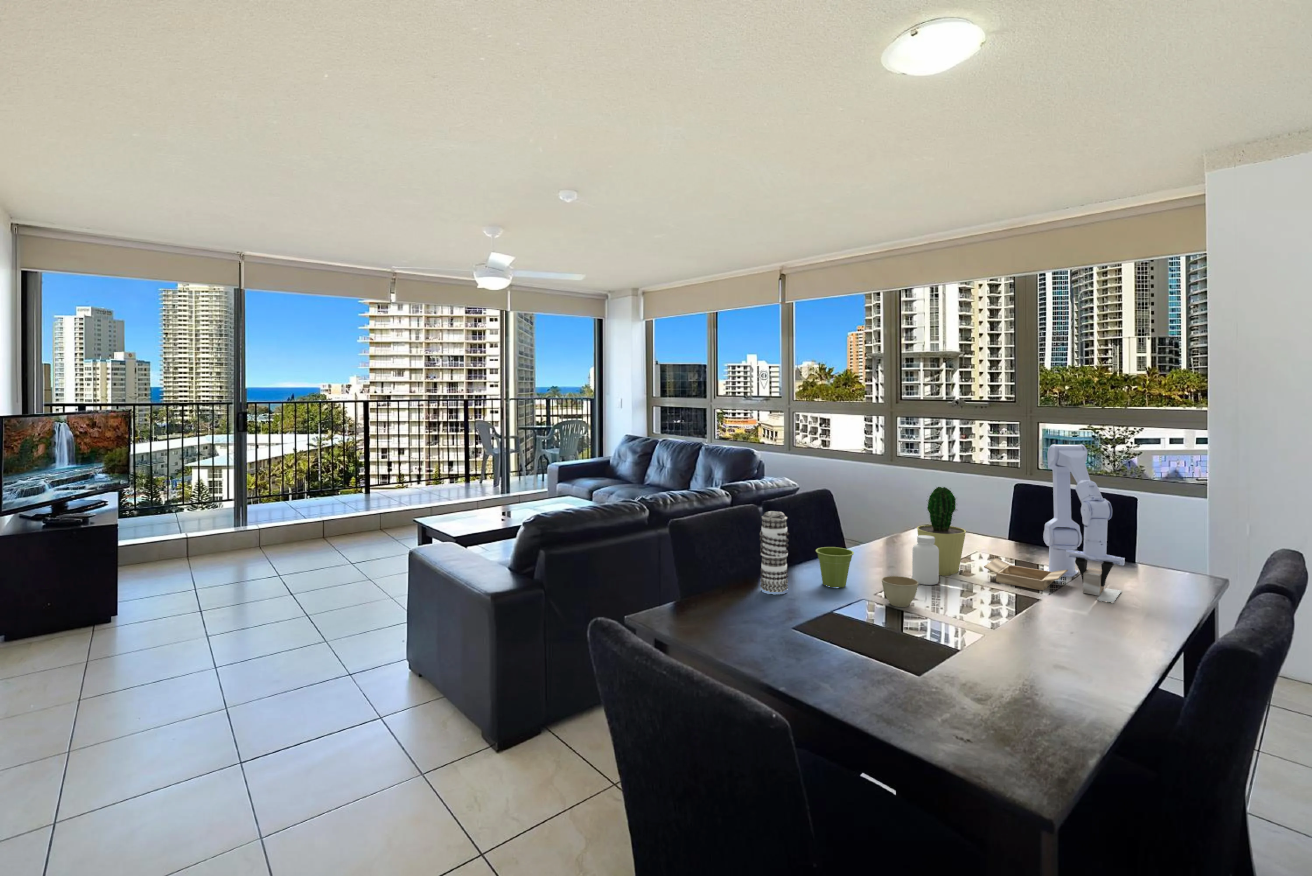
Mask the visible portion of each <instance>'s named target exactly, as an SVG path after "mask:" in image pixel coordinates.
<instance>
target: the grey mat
mask: <svg viewBox="0 0 1312 876" xmlns="http://www.w3.org/2000/svg"><path fill="white" fill-rule="evenodd" d="M1120 593H1122V590H1119V589H1114V588H1107V587H1104V590H1103V591H1102V592H1101V594H1100V595H1099V596H1098V597H1096V599H1095V601H1096V600H1099V601H1098V602H1102V601H1107V602H1113V603H1114V604H1115V602H1116V601H1117V599H1118V598H1119V597H1118V595H1119V594H1120ZM1120 595H1121V594H1120ZM1120 595H1119V596H1120ZM1117 597H1118V598H1117ZM1116 598H1117V599H1116ZM1115 600H1116V601H1115ZM1114 601H1115V602H1114ZM1107 602H1106V603H1107ZM1113 603H1112V604H1113Z"/></svg>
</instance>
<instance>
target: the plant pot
mask: <svg viewBox="0 0 1312 876" xmlns="http://www.w3.org/2000/svg"><path fill="white" fill-rule="evenodd" d="M815 552H816V554H817V558H818V561H819V562H818V563H819V568H820V574H821V582H822V585H823V584H824V585H823V586H825V585H827V586H830V587H840V588H845V587H846V586H847V583H848V582H847V581H848V580H847V579H848V575H849V569H850V565H851V561H852V557H853V555H854V554H855V552H854V551H853V550H851V549H848V548H843V547H836V546H824V547H818V548H816V549H815ZM827 586H826V587H827ZM844 586H845V587H844Z"/></svg>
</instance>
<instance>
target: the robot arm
mask: <svg viewBox="0 0 1312 876" xmlns="http://www.w3.org/2000/svg"><path fill="white" fill-rule="evenodd" d="M1046 456H1047V457H1046V458H1047V469H1050V470H1052V489H1053V490H1052V491H1053V493H1052V495H1053V518H1052V519H1050V520H1048V521H1047V522H1045V524H1044V530H1043V535H1042V536H1043V538H1042V539H1043V541H1044V543H1045V545H1046V546H1047V547H1048V548H1049V549H1048V550H1049V551H1048V569H1047V570H1046V571H1051V572H1054V571H1060V570H1067V569H1068V571H1067V572H1066V573H1065V574H1064V575H1063V576H1066V577H1071V578H1072V577H1074V576H1075V575H1077V574H1078V573H1080V576H1081V580H1082V583H1083V573H1084V572H1085V571H1086V570H1087V569H1088V562H1089V561H1093V562H1099V563H1100V564H1101V570H1102V578H1101V586H1103V587H1104V588H1105V586H1106V583H1107V582H1106V581H1107V578H1108V576H1109V573H1110V572H1111V570H1112V568H1113V566H1114V565H1119V566H1124V565H1125V562H1126V561H1125V559H1126V558H1125V557H1121V556H1116V555H1110V554H1107V546H1108V543H1107V541H1108V523H1109V522H1108V521H1109V520H1110V519H1112V517H1113V507H1112V503H1111V502H1110V500H1108V499H1106V498H1103V496H1102V493H1101V491H1100V489H1099V487H1098V484H1097V483H1096V482H1095V481H1093V480H1091V477H1090V475H1089V472H1088V468H1087V465H1086V464H1087V459H1088V449H1087V447H1086V446H1085V445H1084V444H1081V443H1080V444H1055V443H1054V444H1051V445H1050V446H1049V448H1048V450H1047V455H1046ZM1071 475H1072V476H1073V478H1074V480H1075V482H1076V486H1075V492H1076V493H1077V496H1078V499H1079V501H1080V503H1081V507H1080V514H1081V517H1082V524H1083V535H1082V533H1081V527H1080V524H1078V523H1077V522H1076V521H1074V520H1073V518H1072V498H1071V497H1072V495H1071V494H1072V493H1071ZM1082 541H1083V548H1082V551H1081V550H1078V547H1080V546H1081V544H1082ZM1076 567H1077V569H1078V570H1076Z"/></svg>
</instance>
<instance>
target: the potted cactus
mask: <svg viewBox="0 0 1312 876" xmlns="http://www.w3.org/2000/svg"><path fill="white" fill-rule="evenodd" d="M927 497H928V499H927V503H926V505H927V507H926V508H927V509H926V510H927V511H928V512H927V513H926V514H927V515H929V520H930V521H929V522H930V524H922V525H919V526H916V529H917V536H919V535H927V536H933V537H935V542H934V545H936V546H937V547H938V549H939V576H941V575H942V576H943V577H944V576H945V577H950V576H952V575H954V574H958V573H959V571H960V565H961V560H962V555H963V550H964V545H965V539H966V538H965V537H966V532H967V531H966V529H964V528H961V527H957V526H953V525H952V520H953V521H954V520H955V519H953V517H954V516H955V517H956V515H954V513H955V512H957V511H958V509H957V503H956V502H957V500H958V497H957V496H955V495H954V491H953V492H952V488H951V487H950V488H947V487H946V486H938V487H937V486H935V488H934V489H933V491H931V493H930V495H928V496H927Z"/></svg>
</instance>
